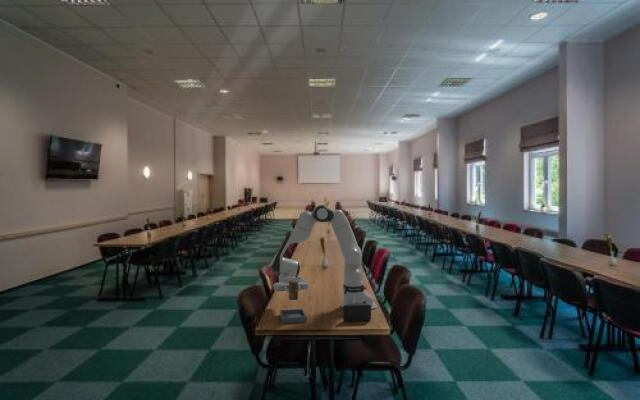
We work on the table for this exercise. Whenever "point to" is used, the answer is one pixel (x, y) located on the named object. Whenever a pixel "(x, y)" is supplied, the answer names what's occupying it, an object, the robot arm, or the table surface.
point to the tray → (293, 316)
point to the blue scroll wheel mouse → (357, 312)
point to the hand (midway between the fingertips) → (293, 289)
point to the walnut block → (293, 290)
